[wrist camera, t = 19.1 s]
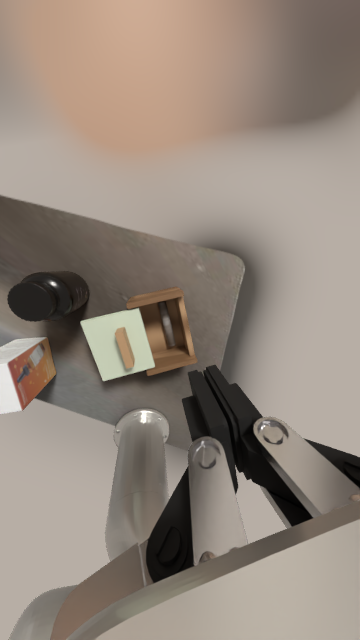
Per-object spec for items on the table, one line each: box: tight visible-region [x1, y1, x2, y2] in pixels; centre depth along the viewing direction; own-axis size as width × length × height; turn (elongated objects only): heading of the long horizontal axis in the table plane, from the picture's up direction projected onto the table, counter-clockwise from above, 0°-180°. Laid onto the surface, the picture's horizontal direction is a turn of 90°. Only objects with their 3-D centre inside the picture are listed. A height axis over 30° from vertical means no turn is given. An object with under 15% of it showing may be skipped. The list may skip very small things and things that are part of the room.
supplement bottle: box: [7, 271, 89, 322], centre depth 27 cm, size 7×7×12 cm
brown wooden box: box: [126, 287, 197, 376], centre depth 34 cm, size 13×9×7 cm
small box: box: [0, 337, 56, 414], centre depth 30 cm, size 8×6×10 cm
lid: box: [80, 307, 155, 381], centre depth 29 cm, size 11×9×3 cm
